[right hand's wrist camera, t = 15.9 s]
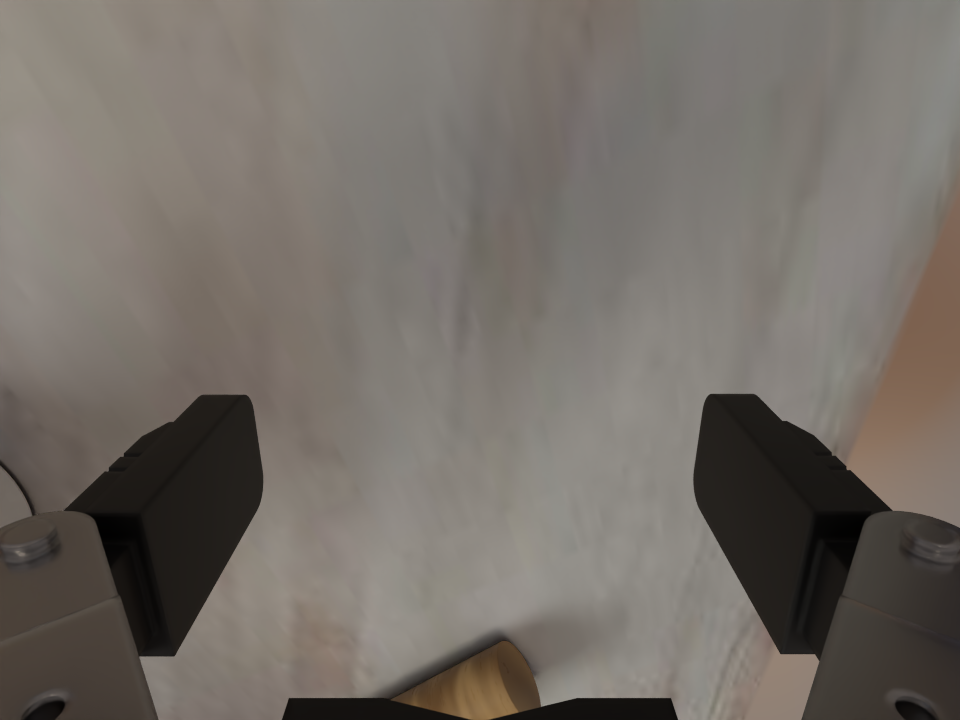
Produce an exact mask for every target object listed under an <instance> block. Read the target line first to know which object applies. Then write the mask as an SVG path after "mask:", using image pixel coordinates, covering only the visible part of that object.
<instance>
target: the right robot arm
mask: <svg viewBox="0 0 960 720" xmlns="http://www.w3.org/2000/svg"><path fill="white" fill-rule="evenodd" d="M693 481H694V493H695V498H696V502H697V505H698V507H699V509H700V511H701V513H702V514H703V516H704V518H705V520H706V522H707V523H708V525H709V527H710V529H711V531H712V532H713V534H714V536H715V538H716V539H717V541H718V543H719V545H720V547H721V548H722V550H723V552H724V554H725V556H726V557H727V559H728V561H729V563H730V565H731V566H732V568H733V570H734V572H735V573H736V575H737V577H738V579H739V581H740V582H741V584H742V586H743V588H744V590H745V591H746V593H747V595H748V597H749V599H750V600H751V602H752V604H753V606H754V607H755V609H756V611H757V613H758V615H759V616H760V618H761V620H762V622H763V624H764V625H765V627H766V629H767V631H768V633H769V634H770V636H771V638H772V640H773V641H774V643H775V645H776V647H777V649H778V650H779V652H780V654H815V655H816V656H817V658H818V660H819V661H820V662H819V665H818V668H817V671H816V674H815V678H814V681H813V684H812V687H811V691H810V694H809V697H808V700H807V703H806V707H805V710H804V713H803V717H802V720H960V528H959V527H957V526H955V525H952V524H950V523H947V522H945V521H942V520H939V519H936V518H933V517H930V516H926V515H922V514H917V513H912V512H904V511H892V510H891V509H890V508H889V507H888V506H887V505H886V504H885V503H884V502H883V501H882V500H881V499H880V498H879V497H878V496H877V495H876V494H875V493H874V492H873V491H872V490H870V489H869V488H868V487H867V486H866V485H865V484H864V483H863V482H862V481H861V480H860V479H859V478H858V477H857V476H856V475H855V474H854V473H853V472H852V471H851V470H847V469H846V466H845V465H844V464H843V463H842V462H841V461H840V460H839V459H838V458H837V457H836V456H832V452H831V451H830V450H829V449H828V448H827V447H825V446H824V445H823V444H822V443H821V442H820V441H819V440H818V439H817V438H816V437H815V436H814V435H812V434H810V433H808V432H806V431H805V430H803V429H801V428H799V427H797V426H795V425H793V424H791V423H790V422H788V421H782V420H781V419H780V418H779V417H778V416H777V415H776V414H775V413H774V412H773V411H772V410H771V409H770V408H769V407H768V406H767V405H766V404H765V403H764V402H763V401H762V400H761V399H760V398H759V397H758V396H757V395H755V394H710V395H709V396H708V397H707V398H706V400H705V403H704V406H703V412H702V419H701V426H700V433H699V440H698V446H697V453H696V460H695V467H694V478H693ZM262 492H263V470H262V463H261V457H260V450H259V443H258V436H257V429H256V422H255V416H254V409H253V405H252V402H251V400H250V398H249V397H248V396H247V395H201V396H199V397H198V398H197V399H196V400H195V401H194V402H193V403H192V404H191V405H190V406H189V407H188V408H187V409H186V410H185V411H184V412H183V413H182V414H181V415H180V416H179V417H178V418H177V419H176V420H175V421H174V422H168V423H167V424H165V425H163V426H161V427H159V428H157V429H155V430H153V431H151V432H150V433H148V434H146V435H144V436H142V437H141V438H140V439H139V440H138V441H137V442H136V443H135V444H133V445H132V446H131V447H130V448H129V449H128V450H127V451H126V452H125V453H124V457H120V458H119V459H118V460H117V461H116V462H114V463H113V464H112V465H111V466H110V467H109V471H108V472H104V473H103V474H102V475H101V476H100V477H99V478H98V479H97V480H95V481H94V482H93V483H92V484H91V485H90V486H89V487H88V488H87V489H86V490H85V491H84V492H83V493H82V494H81V495H80V496H79V497H78V498H76V499H75V500H74V501H73V502H72V503H71V504H70V505H69V506H68V507H67V508H66V509H65V510H64V511H56V512H48V513H43V514H38V515H34V516H30V517H27V518H24V519H21V520H18V521H15V522H13V523H10V524H8V525H5V526H3V527H1V528H0V720H158V716H157V713H156V710H155V707H154V703H153V700H152V697H151V694H150V691H149V687H148V684H147V681H146V678H145V674H144V671H143V668H142V665H141V662H140V658H139V657H140V656H175V655H176V653H177V651H178V649H179V647H180V646H181V644H182V642H183V640H184V639H185V637H186V635H187V633H188V632H189V630H190V628H191V626H192V625H193V623H194V621H195V619H196V617H197V616H198V614H199V612H200V610H201V609H202V607H203V605H204V603H205V602H206V600H207V598H208V596H209V594H210V593H211V591H212V589H213V587H214V586H215V584H216V582H217V580H218V579H219V577H220V575H221V573H222V571H223V570H224V568H225V566H226V564H227V563H228V561H229V559H230V557H231V556H232V554H233V552H234V550H235V549H236V547H237V545H238V543H239V541H240V540H241V538H242V536H243V534H244V533H245V531H246V529H247V527H248V526H249V524H250V522H251V520H252V518H253V517H254V515H255V513H256V511H257V509H258V507H259V505H260V502H261V498H262ZM282 720H471V719H467V718H462V717H458V716H454V715H450V714H446V713H442V712H438V711H434V710H429V709H425V708H421V707H417V706H413V705H409V704H405V703H401V702H396V701H392V700H388V699H384V698H289V700H288V703H287V706H286V709H285V712H284V715H283V718H282ZM489 720H678V718H677V715H676V712H675V709H674V706H673V703H672V700H671V698H576V699H572V700H568V701H564V702H559V703H555V704H551V705H547V706H543V707H539V708H535V709H531V710H526V711H522V712H518V713H514V714H510V715H506V716H502V717H498V718H493V719H489Z"/></svg>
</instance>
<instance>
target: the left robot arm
mask: <svg viewBox="0 0 960 720" xmlns="http://www.w3.org/2000/svg"><path fill="white" fill-rule="evenodd" d="M30 516H32V513H31V510H30V507H29V505H28V502H27V500H26V498H25V496H24V495H23V493H22V491H21V490H20V488H19V487H18V485H17V484H16V482H15V481H14V480H13V479H12V477H11V476H10V475H9V474H8V473H7V472H6V471H5V470H4V469H3V468H2V467H1V466H0V528H1V527H3V526H5V525H8V524H10V523H13V522H15V521H18V520H21V519H24V518H27V517H30Z"/></svg>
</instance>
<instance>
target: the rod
mask: <svg viewBox="0 0 960 720" xmlns="http://www.w3.org/2000/svg"><path fill="white" fill-rule="evenodd" d="M391 700H392V701H396V702H401V703H405V704H409V705H413V706H417V707H421V708H425V709H429V710H434V711H438V712H442V713H446V714H450V715H454V716H458V717H462V718H467V719H471V720H489V719H493V718H498V717H502V716H506V715H510V714H514V713H518V712H522V711H526V710H531V709H535V708H539V707H541V703H540V697H539V693H538V689H537V686H536V683H535V680H534V677H533V675H532V672H531V670H530V668H529V666H528V664H527V663H526V661H525V659H524V658H523V656H522V655H521V653H520V652H519V651H518V649H517V648H516V647H515V646H514V645H513V644H511V643H510V642H508V641H501V642H499V643H497V644H496V645H494V646H492V647H490V648H488V649H486V650H484V651H482V652H480V653H478V654H476V655H475V656H473V657H471V658H469V659H467V660H465V661H463V662H461V663H459V664H457V665H455V666H454V667H452V668H450V669H448V670H446V671H444V672H442V673H440V674H438V675H436V676H434V677H433V678H431V679H429V680H427V681H425V682H423V683H421V684H419V685H417V686H415V687H413V688H412V689H410V690H408V691H406V692H404V693H402V694H400V695H398V696H396V697H394V698H392V699H391Z"/></svg>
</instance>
